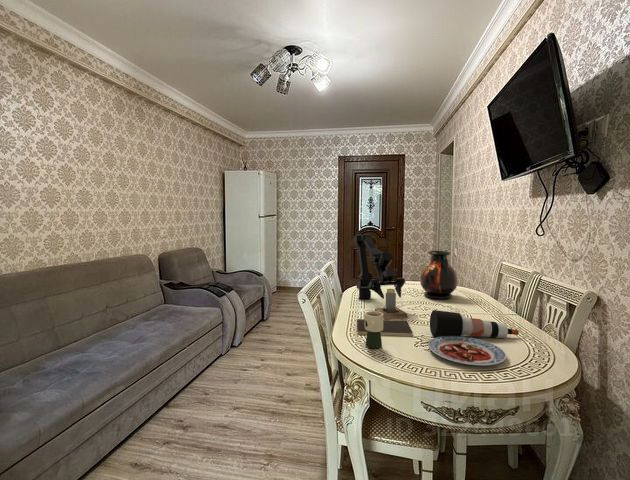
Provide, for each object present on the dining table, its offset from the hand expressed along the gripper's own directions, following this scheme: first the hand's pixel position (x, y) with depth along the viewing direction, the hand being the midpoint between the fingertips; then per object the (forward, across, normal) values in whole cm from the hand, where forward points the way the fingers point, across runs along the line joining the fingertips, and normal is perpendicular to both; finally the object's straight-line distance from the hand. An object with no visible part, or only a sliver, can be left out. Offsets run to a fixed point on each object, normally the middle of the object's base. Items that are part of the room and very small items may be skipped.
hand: (392, 297), depth 167 cm
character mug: (+30, -25, -17) cm, 43 cm away
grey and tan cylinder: (+5, 0, +7) cm, 9 cm away
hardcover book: (+19, -13, -5) cm, 23 cm away
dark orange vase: (-12, +44, +25) cm, 53 cm away
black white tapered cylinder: (+32, +19, -18) cm, 41 cm away
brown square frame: (+6, 0, +7) cm, 9 cm away
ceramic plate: (+41, +5, -28) cm, 50 cm away
